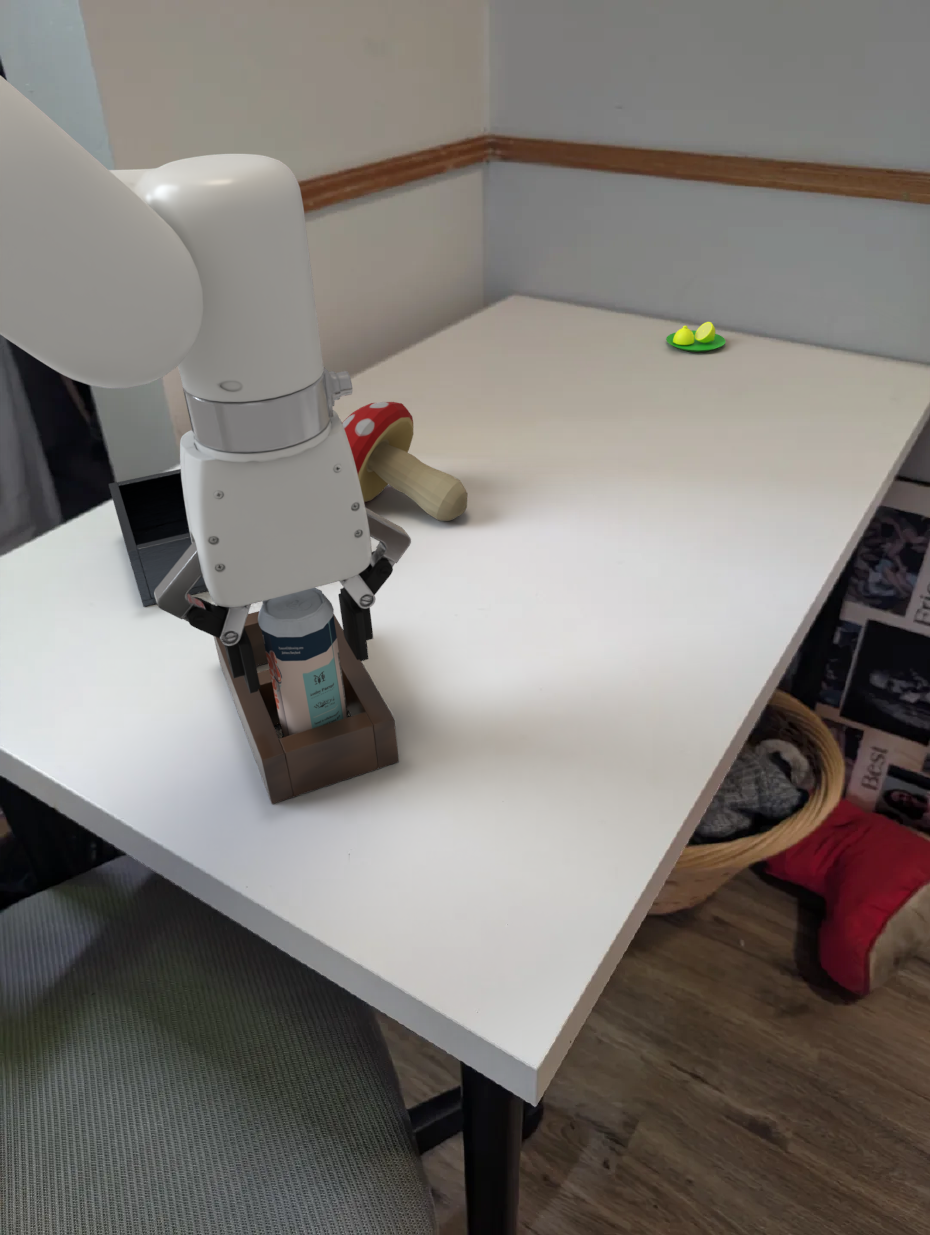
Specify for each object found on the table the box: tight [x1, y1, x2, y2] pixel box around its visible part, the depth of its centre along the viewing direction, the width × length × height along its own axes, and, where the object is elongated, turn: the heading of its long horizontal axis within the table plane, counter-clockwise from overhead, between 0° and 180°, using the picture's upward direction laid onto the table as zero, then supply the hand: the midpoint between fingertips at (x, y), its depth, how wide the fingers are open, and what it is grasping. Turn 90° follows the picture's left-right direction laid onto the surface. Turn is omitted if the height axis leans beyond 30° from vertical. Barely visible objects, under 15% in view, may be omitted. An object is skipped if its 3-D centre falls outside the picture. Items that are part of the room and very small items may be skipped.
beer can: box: [258, 587, 349, 738], centre depth 61 cm, size 5×5×12 cm
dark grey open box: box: [108, 468, 209, 607], centre depth 85 cm, size 14×14×6 cm
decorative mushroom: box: [341, 401, 468, 522], centre depth 90 cm, size 11×11×15 cm
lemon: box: [665, 321, 726, 353], centre depth 126 cm, size 8×8×3 cm
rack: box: [212, 610, 400, 805], centre depth 66 cm, size 9×16×4 cm, turn 24°
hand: (304, 662), depth 61 cm, fingers open, 6 cm apart
